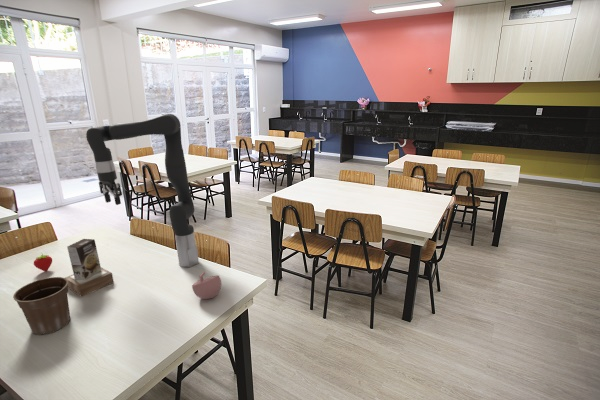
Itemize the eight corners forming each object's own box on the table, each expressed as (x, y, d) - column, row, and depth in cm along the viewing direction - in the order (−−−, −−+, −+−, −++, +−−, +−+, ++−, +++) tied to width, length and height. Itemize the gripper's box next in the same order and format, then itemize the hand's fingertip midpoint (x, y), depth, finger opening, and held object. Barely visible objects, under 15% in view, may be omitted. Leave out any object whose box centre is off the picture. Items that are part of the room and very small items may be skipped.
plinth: (113, 282, 154) (111, 272, 153) (81, 296, 143) (79, 286, 142) (98, 273, 162) (96, 264, 160) (67, 287, 151) (64, 277, 149)
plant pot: (87, 315, 131) (78, 280, 126) (45, 343, 116) (33, 305, 111) (58, 308, 136) (48, 273, 131) (14, 333, 122) (2, 296, 117)
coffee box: (86, 280, 146) (78, 247, 141) (74, 279, 147) (65, 246, 142) (102, 270, 154) (95, 239, 149) (91, 269, 156) (83, 237, 151)
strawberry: (35, 271, 165) (30, 253, 162) (53, 266, 170) (48, 248, 167) (37, 276, 161) (32, 257, 158) (56, 270, 166) (51, 252, 163)
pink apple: (213, 285, 150) (211, 263, 147) (227, 296, 142) (225, 273, 139) (188, 296, 142) (185, 273, 139) (202, 308, 134) (199, 284, 131)
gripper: (122, 169, 152) (129, 203, 157) (105, 167, 160) (112, 199, 165) (106, 173, 146) (114, 207, 151) (89, 170, 154) (97, 203, 159)
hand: (113, 203), depth 158 cm, fingers open, 8 cm apart
